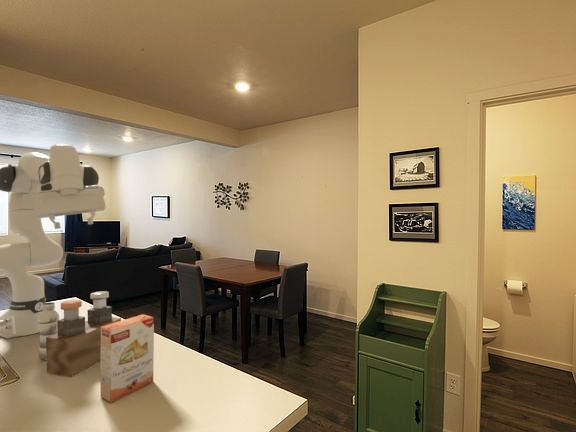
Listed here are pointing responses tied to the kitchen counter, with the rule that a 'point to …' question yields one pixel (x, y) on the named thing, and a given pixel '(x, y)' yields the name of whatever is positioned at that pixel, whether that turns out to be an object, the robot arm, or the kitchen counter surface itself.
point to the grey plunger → (99, 299)
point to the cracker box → (126, 356)
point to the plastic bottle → (47, 326)
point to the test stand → (77, 343)
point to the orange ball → (71, 309)
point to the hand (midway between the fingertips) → (74, 226)
